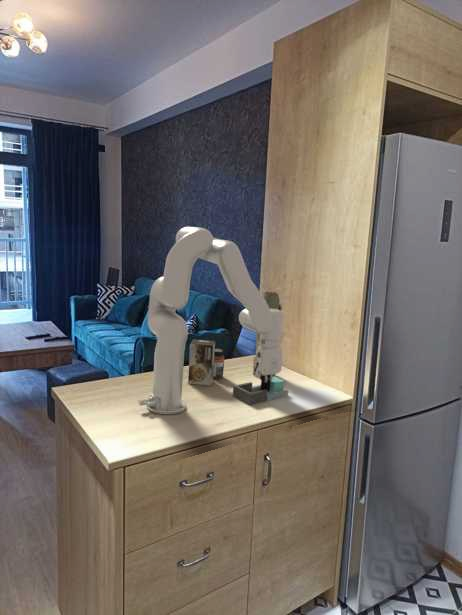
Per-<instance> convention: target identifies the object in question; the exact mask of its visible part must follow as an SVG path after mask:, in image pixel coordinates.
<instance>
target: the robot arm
mask: <svg viewBox="0 0 462 615" xmlns="http://www.w3.org/2000/svg"><path fill="white" fill-rule="evenodd" d="M198 259H201V260H203V261H206V262H210V263H212V264H216V265H217V266H218V269H219V271H220V274H221V275H222V279H223V281H224V284H225V286H226V288H227V290H228V291H229V292H230V293H231V294H232V296H233V297H234V298H235V299H237V300H238V301H239V302H240V303H241V304H242V305H243V307H244V309H243V310H241V311H240V313H239V314H238V321H239V323H240V325H241V326H242V327H244V328H245V329H248V330H250V331H251V332H254V333H256V334H257V333H258V334H260V340H259V342H258V344H259V346H258V349H257V352H256V351H255V355H256V357H255V356H254V357H255V364H254V371H255V372H256V373H255V376H254V377H255V378H256V379H259V380H260V385H261V390H264V389H266V390H268V392H269V391H270V381H272V378H273V377H275V375H277V374H279V373H280V372H281V371H282V362H283V356H282V355H283V352H282V346H281V337H282V327H283V319H284V314H283V311H282V310H281V311H280V310H278V309H269V307H268V305H267V302H266V301H265V299H264V297H263V296H262V295H263V294H262V293H261V292H260V290H259V289H258V287H257V286H256V284H255V283H254V282H253V281H252V279H251V276H250V274H249V271H248V269H247V266H246V264H245V262H244V258H243V256H242V253H241V251H240V249H239V247H238V245H237V244H236V243H235V242H233V241H231V240H225V239H222V238H221V239H220V238H216V237H214V235H213V234H212V233H211V232H210V230H208V229H207V228H203V227H199V226H198V227H197V226H185V227H183V228H181V229H179V230H178V231H177V233H176V235H175V243H174V245H173V246H172V247H171V248H170V250H169V251H168V254H167V255H166V259H165V265H164V270H163V276H160V277H158V278H157V279H156V280H155V281H154V282H153V283H152V286H151V289H150V295H149V302H148V309H147V310H148V311H147V326H148V328H149V331H150V332H151V333H153V334H154V335H155V336H156V337H157V339H156V345H155V348H154V349H155V350H154V355H153V356H154V357H153V358H154V359H153V361H154V363H153V381H152V393H149V396H148V397H147V398H143V399H139V400H138V406H146V408H147V410H149V411H151V412H152V413H154V414H159V415H175V414H179V413H183V411H184V410H186V406H187V405H186V402H185V401H184V400H182V399H183V398H182V396H183V382H184V381H183V378H184V364H185V363H184V362H185V350H186V345H187V344H186V343H187V340H188V335H189V329H188V325H187V322H186V320H185V319H184V318H183V317H182V316H181V315H179V314H178V313H176V311H177V310H182V309H183V308H184V307H186V305H187V304H188V301H189V296H190V287H191V286H190V285H191V277H192V272H193V267H194V265H195V263H196V261H197V260H198Z"/></svg>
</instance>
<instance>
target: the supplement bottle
mask: <svg viewBox="0 0 462 615" xmlns="http://www.w3.org/2000/svg"><path fill="white" fill-rule="evenodd" d="M224 369H225V355H223V349H222V348H221V349H220V348H215V355H214V370H213V380H221V379H222V378H224Z"/></svg>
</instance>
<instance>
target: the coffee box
mask: <svg viewBox="0 0 462 615" xmlns="http://www.w3.org/2000/svg"><path fill="white" fill-rule="evenodd" d="M215 349H216V340H215V341H214V340H207V339H206V340H204V339H192V341H191V342H190V344H189V360H188V379H187V384H189V385H190V384H191V385H200V386H209V387H210V386H212V385H213V382H214V379H213V370H214V355H215Z"/></svg>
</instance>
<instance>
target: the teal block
mask: <svg viewBox="0 0 462 615" xmlns="http://www.w3.org/2000/svg"><path fill="white" fill-rule="evenodd" d="M284 388H285V380H283V379H282V378H279V377H277V376H273V378H272V381H270V391H269V392H268V394H269V393H273V392H277V391H281V390H285V389H284Z"/></svg>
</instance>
